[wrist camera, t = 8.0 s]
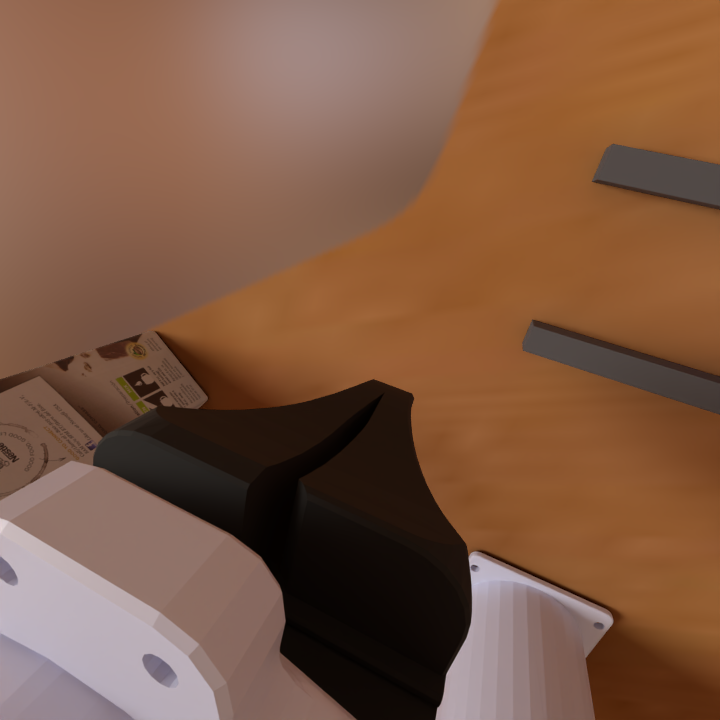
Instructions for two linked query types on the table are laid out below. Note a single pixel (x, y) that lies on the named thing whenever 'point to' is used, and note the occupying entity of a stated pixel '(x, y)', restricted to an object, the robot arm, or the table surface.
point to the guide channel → (616, 362)
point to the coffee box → (84, 404)
